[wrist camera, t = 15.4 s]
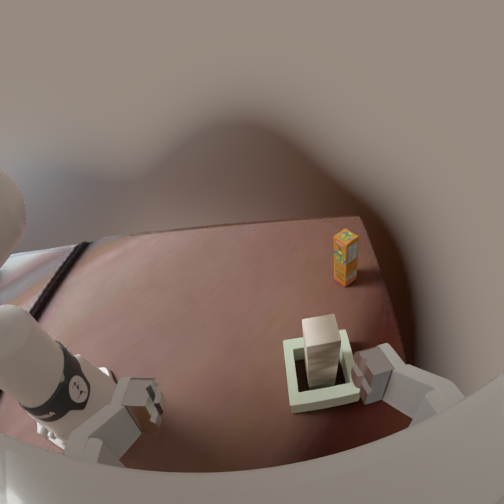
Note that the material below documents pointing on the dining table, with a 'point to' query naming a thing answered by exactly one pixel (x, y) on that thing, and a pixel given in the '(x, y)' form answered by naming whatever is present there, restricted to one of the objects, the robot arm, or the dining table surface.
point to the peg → (321, 350)
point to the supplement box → (345, 257)
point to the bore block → (324, 395)
